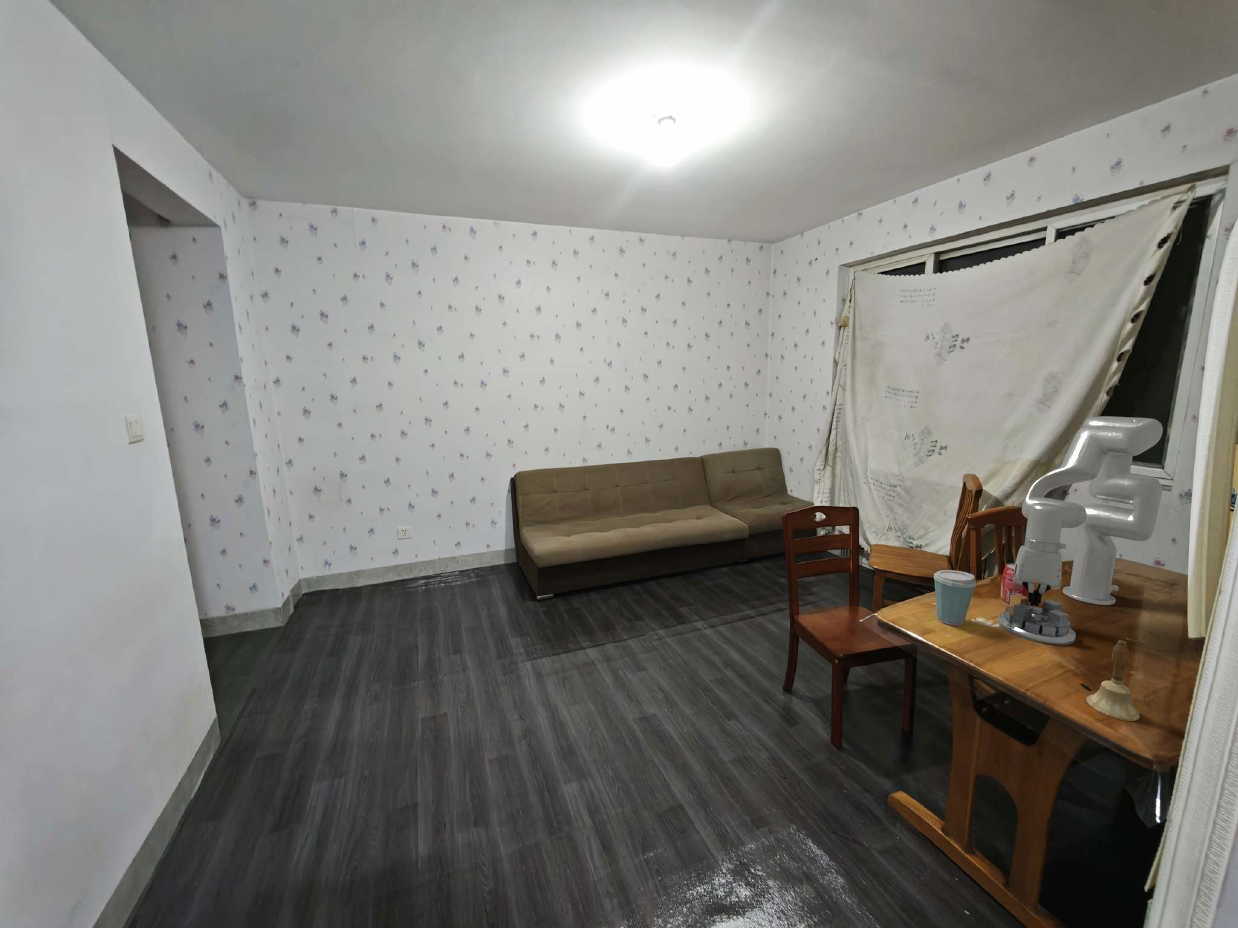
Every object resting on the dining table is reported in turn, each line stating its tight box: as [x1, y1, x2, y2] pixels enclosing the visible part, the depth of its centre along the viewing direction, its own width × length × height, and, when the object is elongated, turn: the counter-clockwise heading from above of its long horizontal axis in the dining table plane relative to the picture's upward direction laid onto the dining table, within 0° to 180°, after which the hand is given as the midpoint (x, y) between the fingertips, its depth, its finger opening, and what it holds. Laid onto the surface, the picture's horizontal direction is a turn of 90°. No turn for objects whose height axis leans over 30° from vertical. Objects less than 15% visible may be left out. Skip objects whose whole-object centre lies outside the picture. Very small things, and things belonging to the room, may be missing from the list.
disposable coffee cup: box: [933, 569, 977, 627], centre depth 145 cm, size 11×11×15 cm
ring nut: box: [1004, 594, 1071, 637], centre depth 139 cm, size 14×14×6 cm
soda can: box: [1000, 563, 1028, 604], centre depth 157 cm, size 7×7×12 cm
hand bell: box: [1085, 639, 1141, 722], centre depth 105 cm, size 8×8×16 cm
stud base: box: [997, 610, 1077, 646], centre depth 140 cm, size 17×17×5 cm
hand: (1033, 604), depth 144 cm, fingers closed
